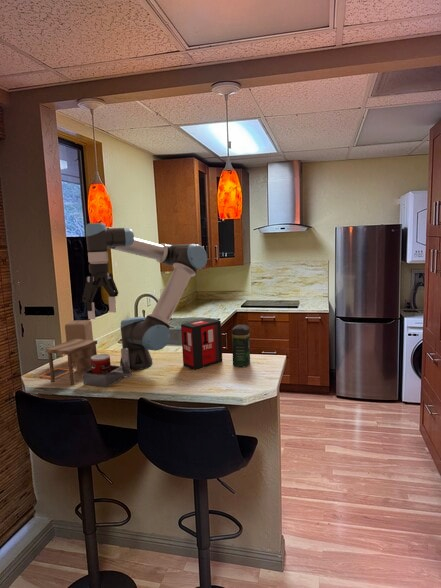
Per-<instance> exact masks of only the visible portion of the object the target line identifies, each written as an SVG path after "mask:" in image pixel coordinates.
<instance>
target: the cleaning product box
mask: <svg viewBox="0 0 441 588" xmlns="http://www.w3.org/2000/svg"><path fill="white" fill-rule="evenodd" d="M180 331H181V345H182V346H181V348H182V350H181V351H182V362H183V363H182V365H183V367H185V368H187V369H190V370H193V371H197V370H200V369H204V368H207V367H211V366H214V365H216V364H219V363H223V344H222V343H223V342H222V341H223V339H222V321H221V320H218V319H214V318H209V317H207V318H204V319H200V320H195V321H190V322H186V323H181V324H180Z"/></svg>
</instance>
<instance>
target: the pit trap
mask: <svg viewBox="0 0 441 588" xmlns="http://www.w3.org/2000/svg"><path fill="white" fill-rule="evenodd" d="M74 372H75V370H74V369H73V373H74ZM67 375H69V368H61V367H56V368H54V376H55V381H56V380H59V379H61V378H63V377H65V376H67ZM39 377H42V378H41V379H46V380H47V379H48V380H51V375H50V370H49V371H47V372H44V373H42V374H40V375H38V378H39Z"/></svg>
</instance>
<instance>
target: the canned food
mask: <svg viewBox="0 0 441 588" xmlns="http://www.w3.org/2000/svg"><path fill="white" fill-rule="evenodd" d="M111 365H112V364H111V357H110V354H107V353H100V354H99V353H97V355H94V356H92V357H91V369H92V373H96V374H104V375H105V374H107V373H109V372H111Z"/></svg>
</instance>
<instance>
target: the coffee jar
mask: <svg viewBox="0 0 441 588" xmlns="http://www.w3.org/2000/svg"><path fill="white" fill-rule="evenodd" d="M250 334H251V333H250V327H249V325H247V324H237V325H235V326H234V327H233V328H231V340H232V341H231V343H232V344H231V345H232V346H231V348H232V366H233V367H236V368H239V369H240V368H246V367H249V366H250V364H251V343H250V342H251V339H250V336H251V335H250Z"/></svg>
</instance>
